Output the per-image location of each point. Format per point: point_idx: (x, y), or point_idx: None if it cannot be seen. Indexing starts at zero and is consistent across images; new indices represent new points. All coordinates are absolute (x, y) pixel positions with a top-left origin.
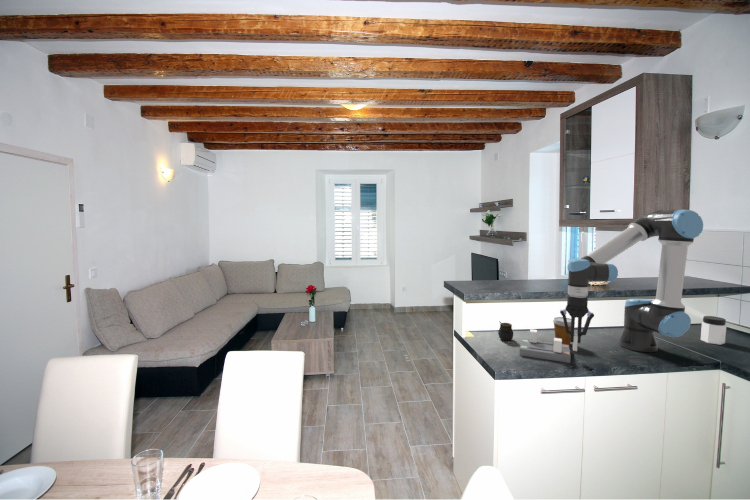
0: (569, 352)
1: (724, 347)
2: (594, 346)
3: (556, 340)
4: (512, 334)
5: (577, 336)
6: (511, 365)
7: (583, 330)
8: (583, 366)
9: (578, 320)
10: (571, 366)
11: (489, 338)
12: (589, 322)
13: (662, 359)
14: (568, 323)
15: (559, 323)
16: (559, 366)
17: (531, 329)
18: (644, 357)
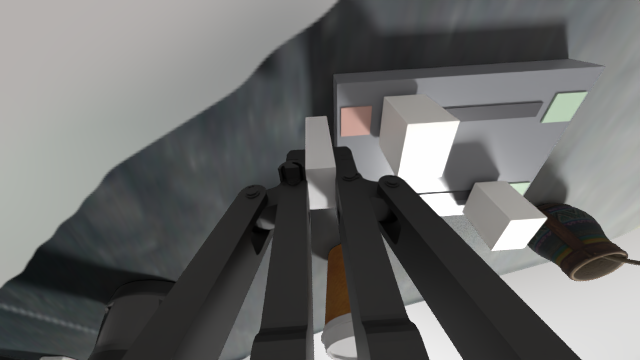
0: (339, 137)
1: (28, 350)
2: (261, 267)
3: (441, 129)
4: (542, 230)
5: (308, 168)
6: None
7: (263, 237)
8: (272, 54)
9: (307, 326)
10: (328, 18)
11: (603, 201)
12: (155, 323)
13: (72, 256)
14: (348, 328)
15: None
16: None
17: (519, 246)
18: (117, 250)
